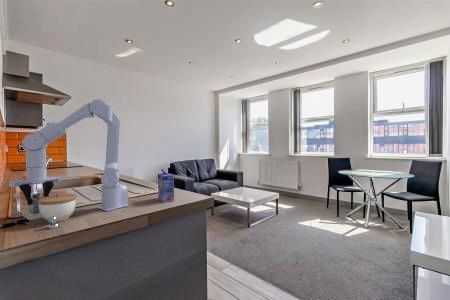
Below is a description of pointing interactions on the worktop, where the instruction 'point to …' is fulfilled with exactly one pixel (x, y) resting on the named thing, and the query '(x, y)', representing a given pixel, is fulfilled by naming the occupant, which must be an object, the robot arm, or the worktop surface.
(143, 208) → the worktop surface
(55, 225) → the bolt
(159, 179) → the blue juice carton
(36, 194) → the housing
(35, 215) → the stand
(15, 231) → the worktop surface
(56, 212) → the lidded jar
